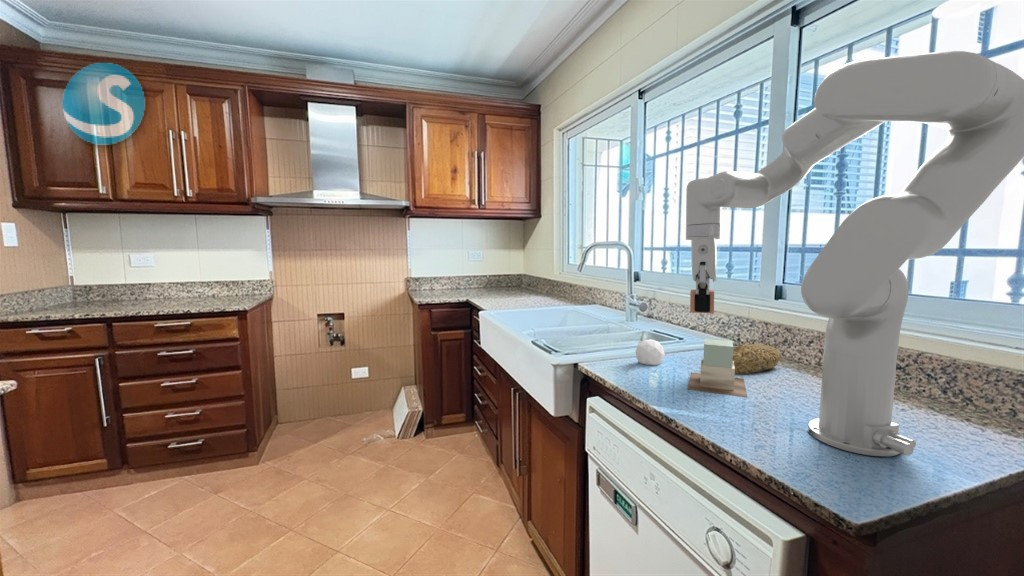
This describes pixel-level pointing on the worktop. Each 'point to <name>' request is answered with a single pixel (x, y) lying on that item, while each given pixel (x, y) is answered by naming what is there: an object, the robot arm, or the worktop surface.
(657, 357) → the ball
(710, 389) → the walnut board
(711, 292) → the terracotta block
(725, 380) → the tower base block
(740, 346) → the sponge
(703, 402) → the worktop surface
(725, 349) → the tower middle block
